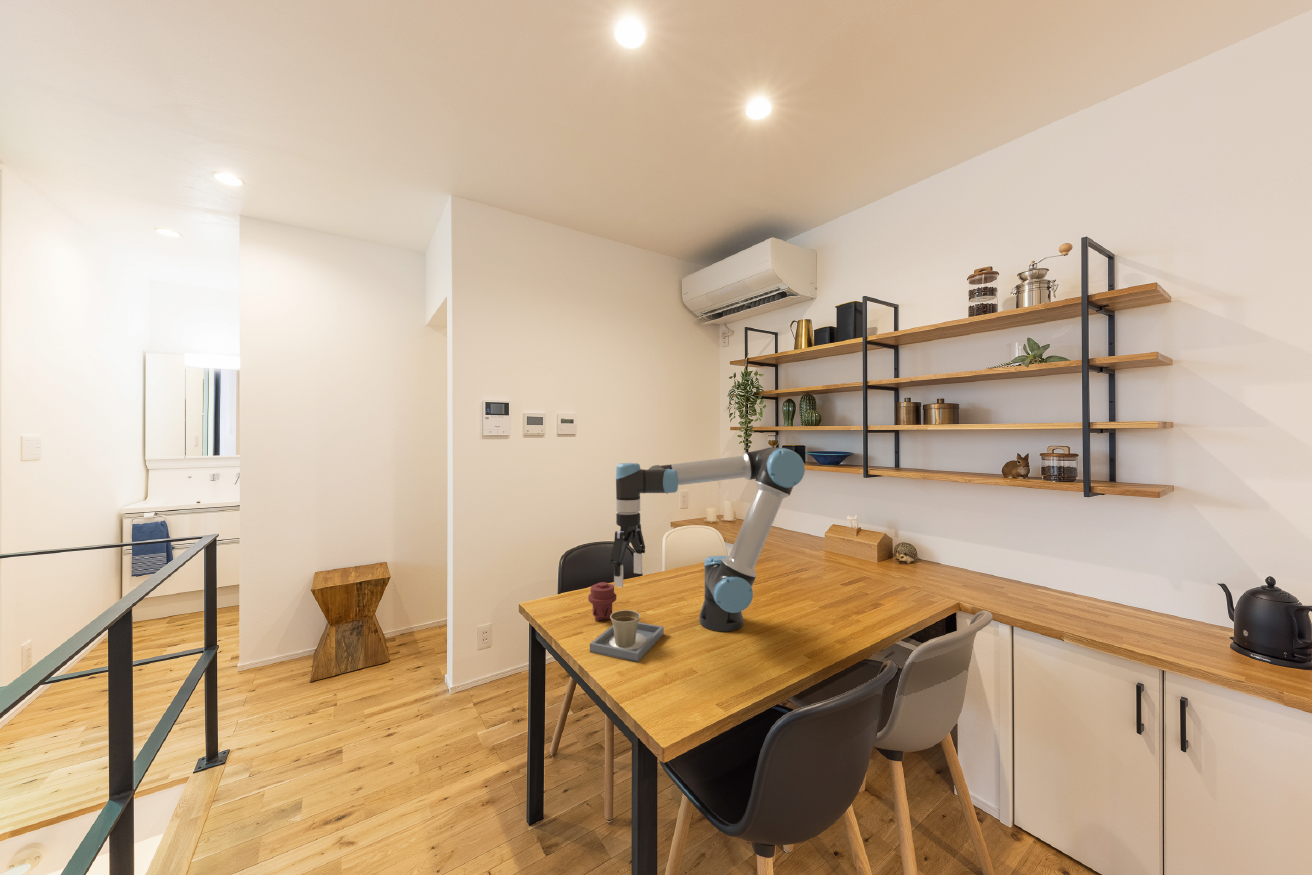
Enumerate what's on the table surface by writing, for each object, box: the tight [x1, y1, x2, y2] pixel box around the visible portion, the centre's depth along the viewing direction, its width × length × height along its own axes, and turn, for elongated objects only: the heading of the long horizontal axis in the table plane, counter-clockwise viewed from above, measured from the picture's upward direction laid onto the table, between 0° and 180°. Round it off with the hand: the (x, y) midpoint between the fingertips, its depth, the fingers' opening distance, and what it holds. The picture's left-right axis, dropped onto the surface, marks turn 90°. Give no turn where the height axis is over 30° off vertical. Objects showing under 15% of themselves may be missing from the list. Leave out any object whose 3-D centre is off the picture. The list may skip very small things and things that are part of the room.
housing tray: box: [589, 621, 665, 663], centre depth 146 cm, size 16×20×2 cm
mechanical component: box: [588, 581, 617, 622], centre depth 165 cm, size 12×10×10 cm
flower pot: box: [610, 609, 641, 647], centre depth 144 cm, size 9×9×9 cm
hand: (628, 579), depth 146 cm, fingers open, 13 cm apart
